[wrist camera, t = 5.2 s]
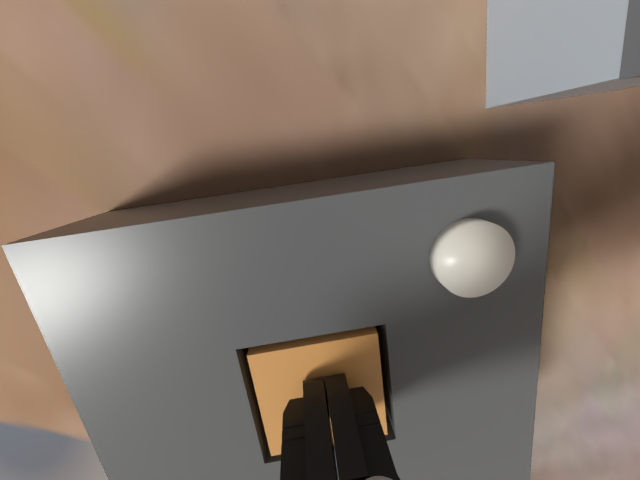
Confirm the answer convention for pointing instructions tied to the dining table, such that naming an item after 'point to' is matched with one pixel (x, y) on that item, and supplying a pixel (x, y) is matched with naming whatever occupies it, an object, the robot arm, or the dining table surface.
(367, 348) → the breaker button
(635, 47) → the cap
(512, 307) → the box
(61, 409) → the dining table surface
